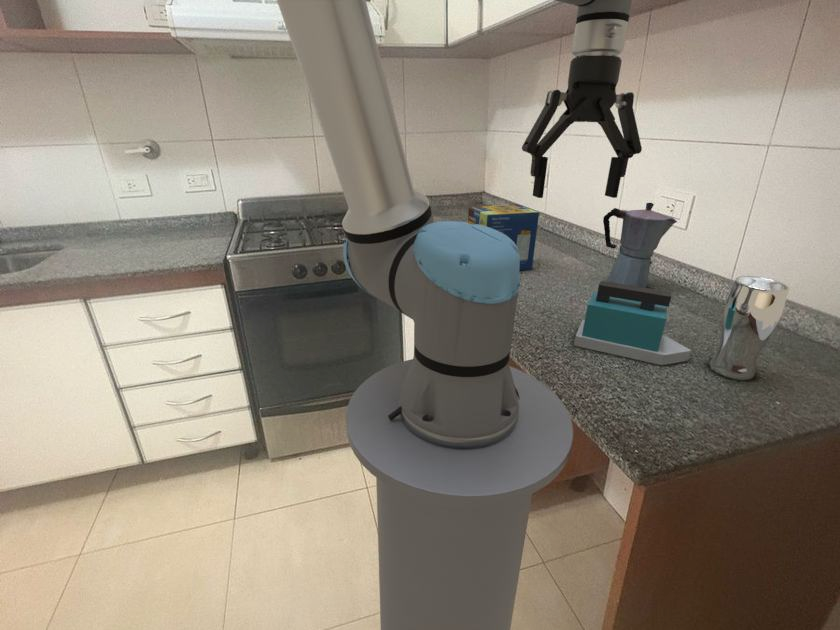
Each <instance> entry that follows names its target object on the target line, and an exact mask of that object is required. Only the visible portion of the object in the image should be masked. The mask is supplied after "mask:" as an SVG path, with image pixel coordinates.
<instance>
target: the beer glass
mask: <svg viewBox="0 0 840 630" xmlns="http://www.w3.org/2000/svg"><path fill="white" fill-rule="evenodd" d="M789 291H790V286H789V285H787V284H785V283H783V282H781V281H779V280H775V279H771V278H767V277H761V276H754V275H740V276H737V277H735V280H734V282H733V285H732V286H731V289H730V291H729V294H728V296H727V298H726V302H725V305H724V308H723V312H722V318H721V327H720V337H719V343H718V346H717V349H716V351H715V353H714V355H713V356H712V357H711V358H710V359H711V360H710V361H709V367H710V369H711V370H712V371H713V372H715V373H717V374H718V375H721V376H722V377H725V378H728V379H732V380H737V381H749V380H752V379H754V377H755V374H756V365H757V361H758V358H759V355H760V354H761V351H762V350H763V348H764V346H765V345H766V343H767V342H768V340H769V339H770V337H771V336H772V334H773V333H774V331H775V330H776V327H777V326H778V324H779V321H780V319H781V317H782V314H783V312H784V309H785V306H786V303H787V298H788V294H789Z"/></svg>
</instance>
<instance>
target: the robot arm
mask: <svg viewBox="0 0 840 630" xmlns="http://www.w3.org/2000/svg"><path fill="white" fill-rule="evenodd" d="M554 1H556V2H560V3H564V4H569V5H573V6H575V7H577V13H576V21H575V27H574V36H573V41H572V42H573V43H572V49H571V54H572V55H573V56H574V58H572V59H571V61H570V64H569V70H568V79H567V89H566V91H565V92H563V91H561V90H559V89H552V90H549V91H547V94H546V97H545V102H544V106H543V107H542V110H541V111H540V113H539V115H538V117H537V119H536V120H535V122H534V124H533V126H532V128H531V130H530V131H529V133H528V134H527V136H526V138H525V140H524V142H523V144H522V146H521V150H522V151H523V152H525V153H527V154H530V156H531V163H530V177H534V180H533V188H532V197H535V198H538V199H543V198H544V190H545V183H546V177H547V169H548V168H547V167H548V160H549V157H548V156H544V155H545V154H546V153H547V152H548V150H550V148H551V147H552V146H553V145H554V144H555V143H556V142H557V140H558V139H559V138H560V137H561V136H562V135H563V134H564V132H565V131H566V130H567V129H568V128H569V127H570V126H571V125H572V124H574V123H597V124H598V125H599V126H600V127H601V129H602V131H603V132H604V135H605V136H606V138H607V140H608V141H609V144H610V145H611V147H612V149H613V151H614V153H615V154H616V156H611V159H610V163H609V170H608V175H607V180H606V186H605V191H604V196H605V197H609V198H613V199H617V198H618V194H619V188H620V183H621V178H625V176H626V173H627V168H628V163H629V159H631V158H633V157H634V155H636V154H637V155H639V154H641V153H642V151H643V150H642V149H643V148H642V144H641V139H640V133H639V130H638V125H637V120H636V116H635V111H634V100H635V95H634V93H633V92H631V91H630V92H629V91H628V92H622V93H620V94H617V89H616V88H617V85H618V83H619V78H620V73H621V67H622V59H621V57H620V55H621V54H623V53H624V49H625V43H626V37H627V31H628V25H629V21H630V13H631V8H632V7H631V6H632V3H633V0H554ZM276 2H277V5H278V7H279V10H280V13H281V16H282V19H283V22H284V25H285V28H286V32H287V33H288V37H289V40H290V42H291V45H292V48H293V51H294V54H295V57H296V59H297V63H298V65H299V69H300V72H301V74H302V77H303V79H304V83H305V85H306V88H307V91H308V94H309V97H310V100H311V103H312V106H313V109H314V112H315V115H316V117H317V121H318V123H319V126H320V129H321V133H322V134H323V135H322V136H323V137H324V141H325V143H326V146H327V149H328V153H329V155H330V158H331V161H332V164H333V166H334V169H335V172H336V175H337V178H338V181H339V184H340V187H341V189H342V192H343V196H344V199H345V201H346V204H347V207H348V209H347V211H346V214H345V215H344V217H343V219H342V221H341V225H342V228H343V232H344V234H345V237H346V238H345V242H343V248H342V255H343V262H344V265H345V268H346V270H347V273H348V274H349V277H351V279H352V280H353V281H354V282H355V283H356V284H357V286H358V287H359V288H360V289H362V290H363V291H364V292H366V294H368V295H370V296H371V297H373V298H376V299H378V300H380V301H381V302H383V303H385V304H386V305H388V306H390V307H392V308H393V309H395V310H396V311H398V312H400V313H401V314H402V315H404V316H405V317H408V318H409V319H411V320H413V357H412V359H413V360H412V362H411V365H410V368H409V370H408V373H407V376H406V378H405V381H404V383H403V386H402V389H401V392H400V396H399V408H398V409H396V410H395V411H394V412H392V413H391V414H389V415H388V417H389V419H390V420H393V419H394V418H395V417H397V416H398V415H399V414H400V417H401V420H402V422H403V424H404V425H405V426H406V427H407V428H408V430H409V431H411V432H412V433H413V434H414V435H416V436H417V437H419V438H421V439H422V440H424V441H427V442H429V443H432V444H434V445H438V446H441V447H446V448H452V449H476V448H482V447H486V446H490V445H493V444H495V443H498V442H500V441H501V440H503V439H505V438H506V437H507V436H508V435H509V434H511V432H512V431H513V430H514V428H515V426H516V424H517V419H518V411H519V404H518V398H519V394H518V391H517V389H516V388H515V385H514V381H513V377H512V373H511V369H510V367H511V366H510V357H511V348H512V341H513V334H514V326H515V319H516V311H517V303H518V297H519V290H520V286H521V274H520V271H519V267H520V256H519V250H518V248H517V246H516V245H515V243H514V242H513V241H512V240H511V239H510V238H509V237H508V236H506V235H505V234H503V233H501V232H499V231H497V230H495V229H492V228H489V227H486V226H483V225H479V224H475V225H472V224H469V223H468V221H467V222H466V221H458V220H457V221H455V220H444V221H443V220H442V221H436V222H435V220H434V216H433V212H432V209H431V204H430V200H429V197H428V196H426V195H425V194H423V193H421V192H419V191H418V190H416V189H415V188H414V185H413V182H412V181H413V180H412V177H411V173H410V169H409V166H408V165H409V164H408V161H407V157H406V153H405V150H404V146H403V142H402V137H401V133H400V130H399V126H398V121H397V118H396V114H395V110H394V107H393V102H392V98H391V94H390V90H389V87H388V83H387V78H386V75H385V70H384V66H383V64H382V59H381V55H380V51H379V47H378V43H377V39H376V36H375V31H374V27H373V24H372V20H371V19H372V18H371V15H370V12H369V8H368V3H367V0H276ZM562 103H564V106H565V107H566V109H565V110H564V111H563V113H562V114H561V115H560V116H559V118H558V120H557V121H556V122H555V123H554V124H553V125H552V127H550V129H549V130H548V131H547V132H546V133H545V131H546V129H547V127H548V125H549V124H550V122H551V120H552V119H553V117H554V115H555V113H556V111H557V110H558V107H559V106H561V105H562ZM614 105H615V107H616V108H617V115H618V118H619V119H618V120H619V123H620V127H621V130H620V128H619V126H618V124H617V122H616V118H615V116H614V113H613V112H612V107H613V106H614ZM621 131H622V132H621ZM544 133H545V135H544ZM543 135H544V136H543ZM542 136H543V137H542ZM517 396H518V398H517ZM519 400H520V398H519Z"/></svg>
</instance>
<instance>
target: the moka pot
mask: <svg viewBox="0 0 840 630" xmlns="http://www.w3.org/2000/svg"><path fill="white" fill-rule="evenodd" d="M654 205H655V204H654V203H653V202H646V204H645V209H629V210H627V209H619V208H617V207H614V208H612V209H610V211H608V212H607V213H606V214H605V215H604V216H603V217H602V218H603V219H602V223H603V229H604V230H603V231H604V237H605V239H604V240H605V247H607V248H610V249H616V248H617V247H618V245H617V244H614V243H612V241H611V225H610V219H611V217H615V218H618V219H622V226H621V233H620V241H619V243H620V245H619V252H618V254H617V256H616V259H615V261H614V262H613V263H614V264H613V266H612V268H611V271H610V273H609V275H608V277H607V280H606V282H611V283H618V284H624V285H630V286H636V287H643V288H647V285H648V282H649V275H650V268H651V265H652V264H653V261H652V257H653V255H654V252H655V250H657V248H658V247H659V244H660V241H661V239H662V238H663V237H664V236H665V235H666V234H667V232H668V231H669V230H670V229H671V228H672V226H674V224H676V223H678V220H677V219H675V218H674V217H672V216H669V215H665V214H662V213H660V212H657V211H654V210H652V209H653V207H654Z"/></svg>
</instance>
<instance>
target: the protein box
mask: <svg viewBox="0 0 840 630" xmlns="http://www.w3.org/2000/svg"><path fill="white" fill-rule="evenodd" d="M467 213H468V214H467V223H469V224H472V225H475V224H479V225H483V226H486V227H489V228H492V229H495V230H497V231H499V232H501V233H503V234H505V235H506V236H508V237H509V238H510V239H511V240H512V241H513V242H514V243H515V245H516V246H517V248H518V250H519V256H520V267H519V272H521V271H528V270H532V269H533V266H534V265H533V264H534V256H535V248H536V241H537V234H538V233H537V232H538V224H539V217H540V212H539V211H537V210H534V209H532V208H529V207H526V206H523V205H520V204H502V205H500V204H499V205H486V206H485V205H484V206H483V205H482V206H469V207H468V212H467Z"/></svg>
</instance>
